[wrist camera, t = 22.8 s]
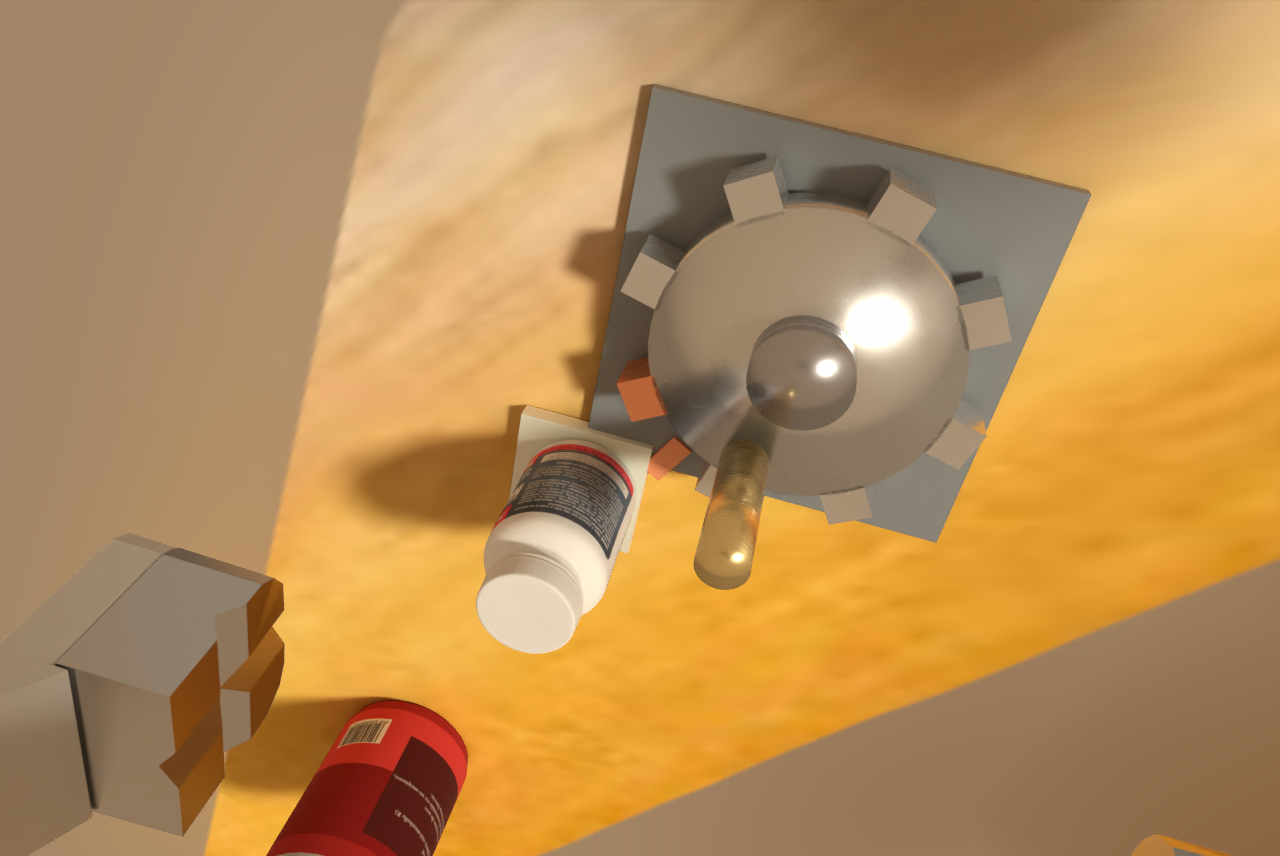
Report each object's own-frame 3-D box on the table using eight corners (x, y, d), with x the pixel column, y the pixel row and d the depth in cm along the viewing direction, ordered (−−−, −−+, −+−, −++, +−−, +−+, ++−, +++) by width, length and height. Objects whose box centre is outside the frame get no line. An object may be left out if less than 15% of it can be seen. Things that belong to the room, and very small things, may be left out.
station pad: (655, 439, 45) (652, 449, 44) (631, 543, 48) (628, 553, 47) (527, 404, 45) (521, 413, 45) (511, 509, 49) (506, 519, 48)
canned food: (329, 749, 61) (230, 915, 51) (375, 673, 56) (276, 839, 47) (440, 809, 62) (362, 983, 52) (493, 740, 57) (419, 916, 48)
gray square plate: (1088, 190, 36) (1092, 196, 35) (931, 546, 45) (932, 555, 44) (654, 84, 37) (651, 88, 36) (585, 451, 46) (581, 459, 45)
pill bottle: (525, 428, 45) (455, 548, 37) (640, 444, 44) (592, 570, 37) (527, 524, 48) (462, 653, 40) (635, 541, 47) (589, 676, 39)
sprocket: (963, 101, 34) (986, 179, 27) (1034, 462, 41) (1069, 608, 33) (571, 215, 39) (497, 309, 32) (688, 521, 46) (650, 660, 38)
